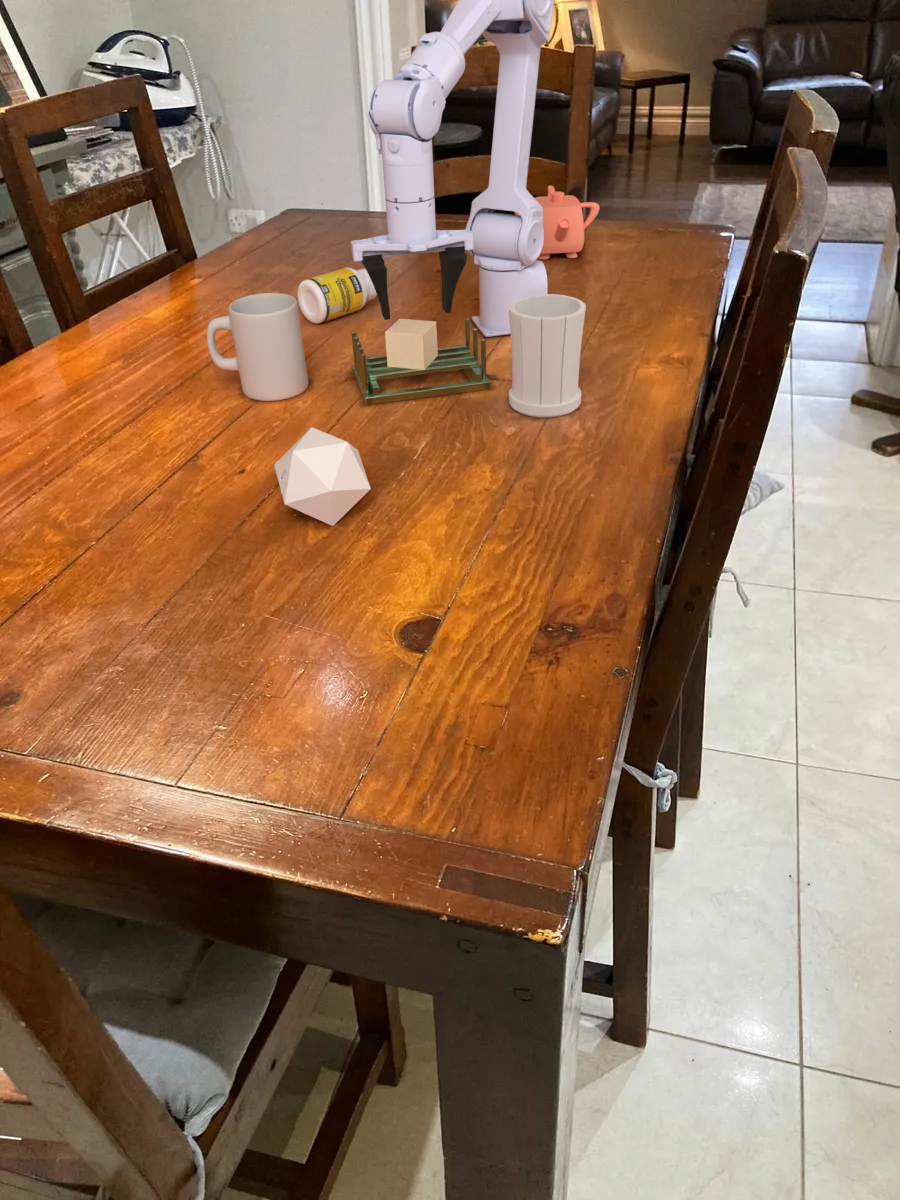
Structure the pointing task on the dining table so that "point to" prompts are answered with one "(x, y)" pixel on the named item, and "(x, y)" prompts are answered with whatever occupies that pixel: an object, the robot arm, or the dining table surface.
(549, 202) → the teapot
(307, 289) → the pill bottle
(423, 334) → the box
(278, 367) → the mug
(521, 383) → the cup
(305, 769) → the dining table surface
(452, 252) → the robot arm
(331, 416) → the dining table surface
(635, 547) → the dining table surface
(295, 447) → the die
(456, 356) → the dish rack
